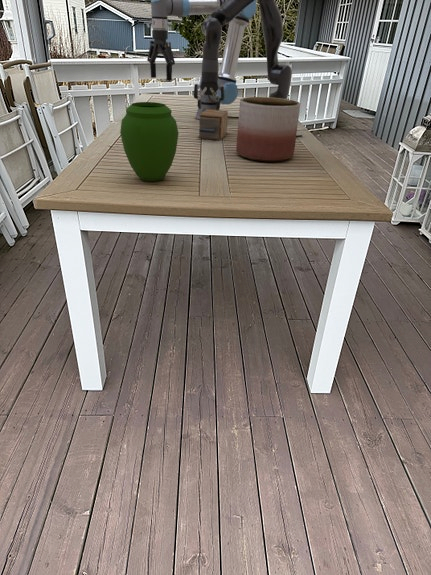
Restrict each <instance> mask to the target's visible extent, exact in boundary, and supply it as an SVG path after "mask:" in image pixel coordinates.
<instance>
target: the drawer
mask: <svg viewBox="0 0 431 575" xmlns="http://www.w3.org/2000/svg"><path fill="white" fill-rule="evenodd" d="M199 122H200V127H198V128H199V129H198V138H199V137H204V138H203V139H205V138H215V139H219V131H220V118H213V117H200V120H199ZM215 139H214V140H215Z"/></svg>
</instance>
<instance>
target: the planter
mask: <svg viewBox="0 0 431 575" xmlns="http://www.w3.org/2000/svg"><path fill="white" fill-rule="evenodd" d="M300 109H301V103H300V102H299V101H297V100H294V99H288V98H287V99H282V98H272V97H269V96H247V97H242V98H240V100H239V109H238V117H239V118H238V122H237V133H236V146H235V149H236V150H235V152H236V153H237V154H238V155H239V156H241V157H243V158H245V159H248V160H251V161H256V162H265V163H266V162H268V163H273V162H283V161H287V160H289V159H291V158H292V157H293V156H294V154H295V148H296V142H297V141H296V140H297V137H296V135H297V133H298V125H299V116H300Z"/></svg>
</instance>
